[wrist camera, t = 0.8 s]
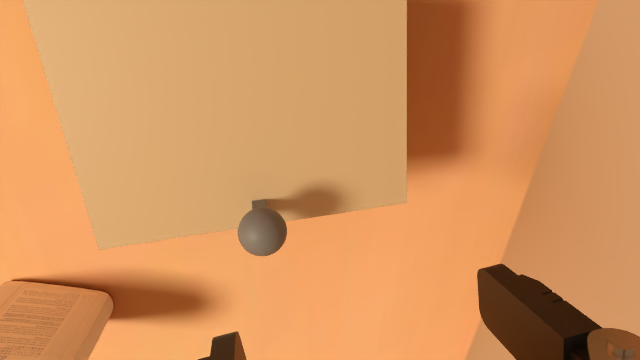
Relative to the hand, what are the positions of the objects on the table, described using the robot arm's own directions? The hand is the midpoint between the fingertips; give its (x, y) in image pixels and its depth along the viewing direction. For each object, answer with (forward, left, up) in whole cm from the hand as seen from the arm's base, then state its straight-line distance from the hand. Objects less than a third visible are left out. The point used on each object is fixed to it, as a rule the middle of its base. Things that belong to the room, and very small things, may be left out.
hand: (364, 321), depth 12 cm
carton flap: (-4, -3, -17) cm, 18 cm away
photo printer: (+14, -24, -27) cm, 39 cm away
